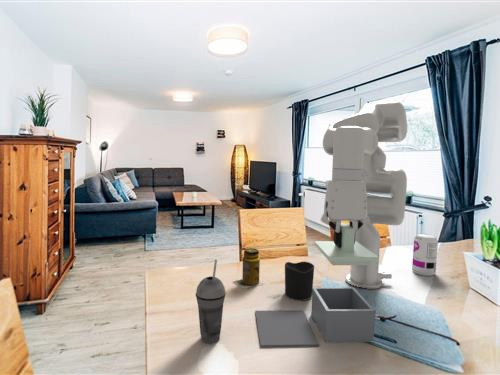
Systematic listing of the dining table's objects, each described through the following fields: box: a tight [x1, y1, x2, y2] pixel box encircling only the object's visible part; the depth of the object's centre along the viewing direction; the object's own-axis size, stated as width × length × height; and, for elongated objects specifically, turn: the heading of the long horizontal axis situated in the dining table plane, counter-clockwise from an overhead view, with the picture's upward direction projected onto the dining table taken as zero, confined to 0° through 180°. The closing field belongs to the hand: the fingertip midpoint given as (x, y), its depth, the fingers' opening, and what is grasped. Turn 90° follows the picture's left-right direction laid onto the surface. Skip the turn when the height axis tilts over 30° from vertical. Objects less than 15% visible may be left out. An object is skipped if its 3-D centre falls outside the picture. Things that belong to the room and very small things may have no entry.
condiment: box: [232, 247, 265, 290], centre depth 113 cm, size 7×8×12 cm
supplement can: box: [411, 233, 439, 277], centre depth 127 cm, size 8×8×15 cm
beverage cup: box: [195, 259, 226, 345], centre depth 78 cm, size 7×7×20 cm
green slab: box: [313, 222, 380, 266], centre depth 83 cm, size 12×14×8 cm
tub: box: [310, 286, 376, 343], centre depth 85 cm, size 12×14×8 cm
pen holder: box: [284, 261, 315, 301], centre depth 104 cm, size 9×9×10 cm
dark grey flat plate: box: [255, 309, 320, 348], centre depth 84 cm, size 14×17×1 cm
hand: (344, 245), depth 83 cm, fingers closed on green slab, 2 cm apart
